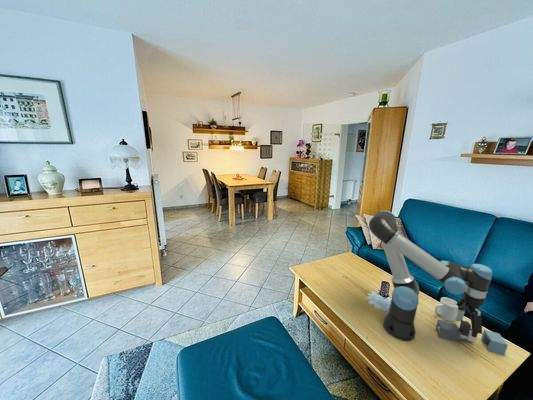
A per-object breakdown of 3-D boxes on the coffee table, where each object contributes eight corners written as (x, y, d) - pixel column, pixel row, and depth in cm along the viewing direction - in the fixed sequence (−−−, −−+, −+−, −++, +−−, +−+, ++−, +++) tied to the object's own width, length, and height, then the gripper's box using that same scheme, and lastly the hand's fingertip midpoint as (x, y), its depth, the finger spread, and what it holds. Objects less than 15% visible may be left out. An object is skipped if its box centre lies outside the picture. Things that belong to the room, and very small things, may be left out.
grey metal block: (439, 338, 116) (442, 328, 114) (435, 328, 121) (437, 319, 120) (458, 342, 113) (461, 332, 111) (453, 333, 119) (455, 323, 117)
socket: (488, 351, 109) (491, 340, 107) (480, 339, 115) (484, 329, 113) (504, 355, 107) (507, 344, 105) (495, 343, 113) (498, 333, 111)
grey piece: (439, 334, 117) (442, 319, 115) (436, 329, 120) (440, 315, 117) (474, 343, 112) (479, 328, 109) (471, 338, 115) (475, 323, 112)
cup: (458, 321, 127) (462, 306, 124) (439, 322, 126) (443, 307, 124) (446, 311, 135) (450, 297, 132) (428, 311, 134) (431, 297, 132)
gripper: (500, 314, 96) (487, 353, 101) (471, 282, 118) (462, 315, 123) (478, 309, 98) (467, 347, 103) (454, 279, 121) (446, 311, 126)
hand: (464, 330), depth 113 cm, fingers open, 13 cm apart
